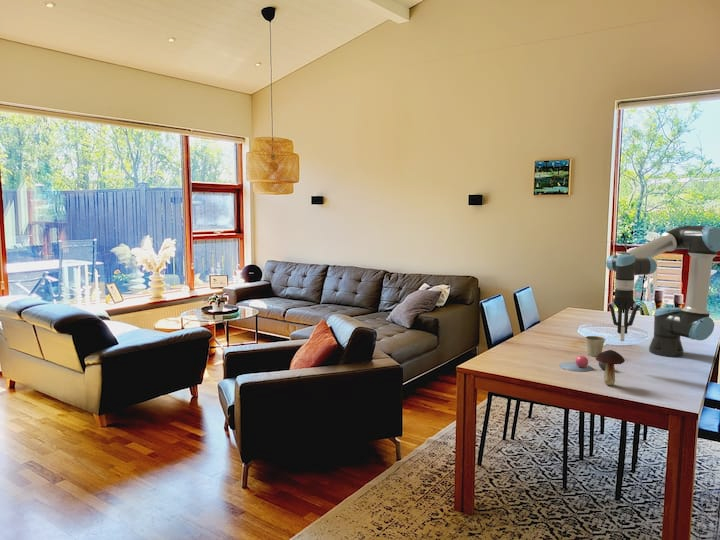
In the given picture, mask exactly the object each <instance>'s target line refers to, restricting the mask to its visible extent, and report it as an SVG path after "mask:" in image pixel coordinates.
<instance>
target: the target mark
mask: <svg viewBox="0 0 720 540" xmlns="http://www.w3.org/2000/svg"><path fill="white" fill-rule="evenodd" d="M559 367H560V368H561V369H563V370H565V371H570V372H577V371H578V372H580V373H582V372H584V373H585V372H589V371H592V370H593V367H592V366H591V365H589V364H588V365H587V366H586V367H584V368H581V367H578V366H577V365H576V362H575V361H574V362H572V361H571V362H570V361H567V362H566V361H565V362H562V363H560V364H559Z"/></svg>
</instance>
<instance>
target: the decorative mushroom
mask: <svg viewBox="0 0 720 540" xmlns="http://www.w3.org/2000/svg"><path fill="white" fill-rule="evenodd" d="M595 360H596V361H597V362H598V363H599V362H602V363H606V367H605V370H604V373H603V374H604V376H603V382H604V383H605V384H606V386H613V385H614V384H615V382H616V368H615V365H622V364H624V363H625V362H626V360H625V358H624V356H623V355H621V354H620V353H619V352H617V351H616V350H613V349H608V350H605V351H602V353H600V354H598V355H597V356H595Z"/></svg>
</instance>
